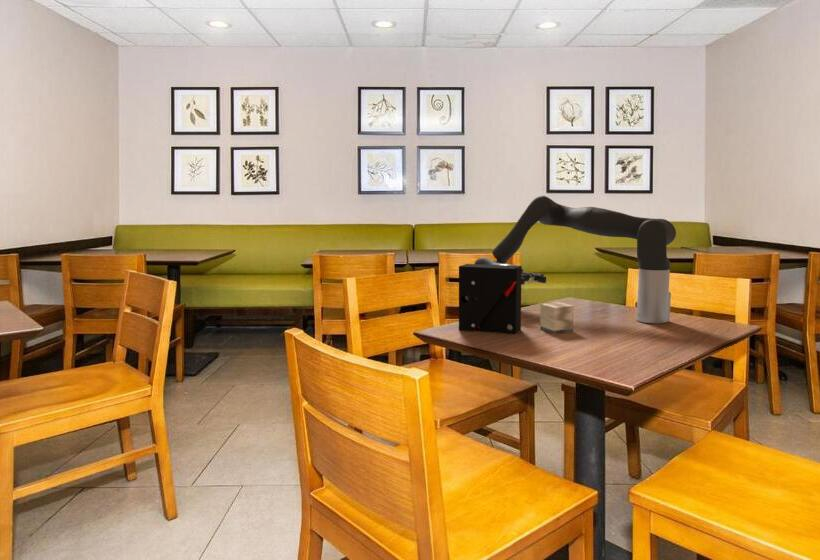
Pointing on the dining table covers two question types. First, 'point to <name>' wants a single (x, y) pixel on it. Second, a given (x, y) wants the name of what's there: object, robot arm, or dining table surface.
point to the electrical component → (490, 298)
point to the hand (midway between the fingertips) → (534, 280)
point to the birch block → (556, 317)
